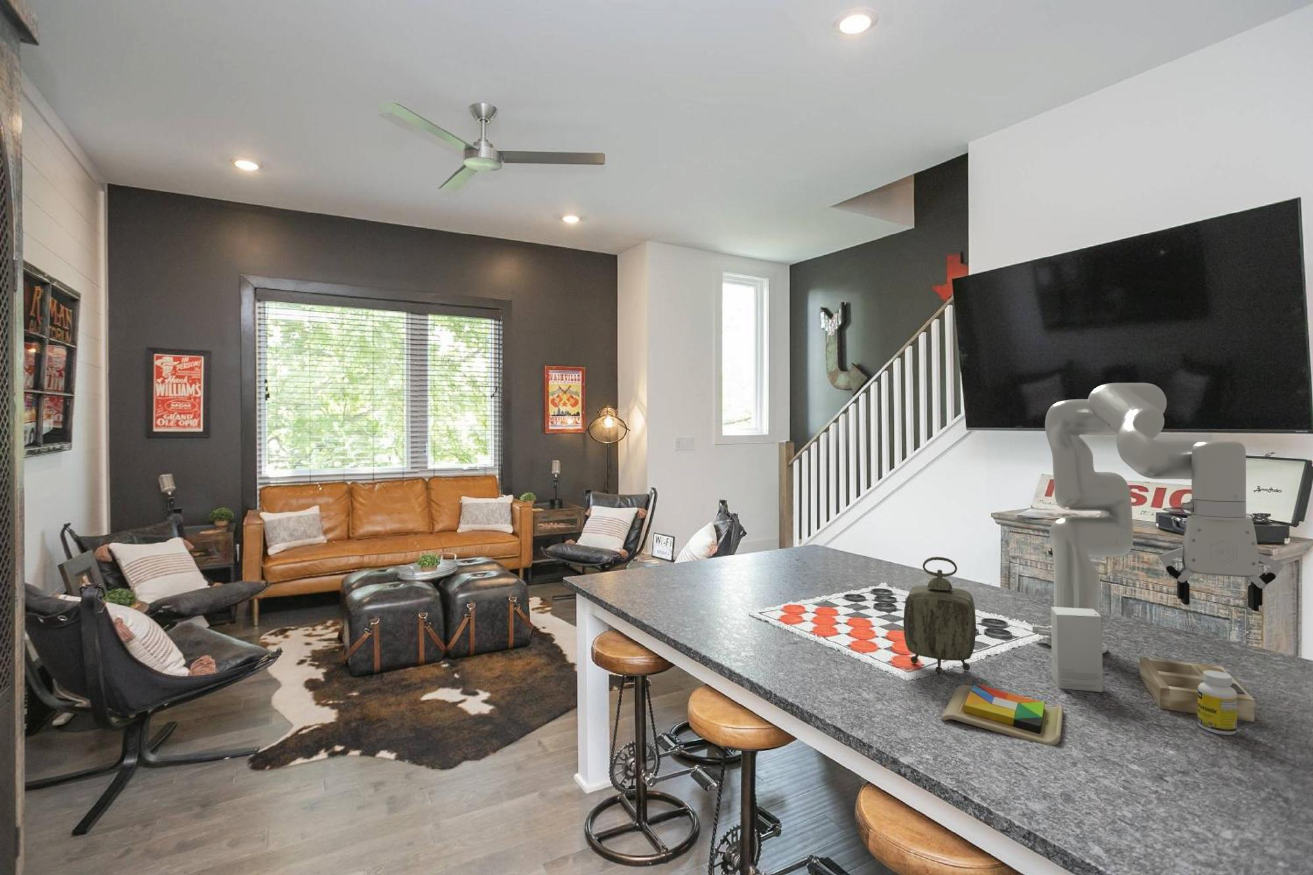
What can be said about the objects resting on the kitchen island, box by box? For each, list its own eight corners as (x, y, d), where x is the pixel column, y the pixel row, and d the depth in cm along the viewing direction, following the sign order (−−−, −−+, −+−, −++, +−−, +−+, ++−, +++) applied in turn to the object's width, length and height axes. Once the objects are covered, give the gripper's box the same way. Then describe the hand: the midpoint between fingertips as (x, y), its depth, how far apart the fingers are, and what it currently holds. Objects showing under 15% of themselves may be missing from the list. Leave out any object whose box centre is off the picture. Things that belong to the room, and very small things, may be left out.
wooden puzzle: (1060, 750, 114) (1060, 729, 114) (939, 724, 124) (939, 705, 124) (1063, 713, 129) (1063, 695, 129) (955, 692, 139) (955, 675, 139)
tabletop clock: (975, 669, 151) (976, 556, 151) (975, 683, 143) (976, 563, 143) (906, 660, 157) (906, 551, 157) (902, 673, 149) (902, 558, 149)
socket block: (1160, 708, 130) (1160, 685, 130) (1139, 675, 147) (1139, 655, 147) (1254, 721, 124) (1254, 698, 124) (1221, 686, 141) (1221, 665, 141)
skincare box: (1095, 682, 143) (1095, 608, 143) (1104, 694, 137) (1104, 616, 137) (1049, 677, 146) (1050, 605, 146) (1056, 689, 140) (1057, 613, 139)
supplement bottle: (1189, 722, 124) (1190, 668, 124) (1220, 722, 124) (1220, 668, 124) (1213, 735, 118) (1213, 679, 118) (1245, 736, 118) (1245, 679, 118)
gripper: (1163, 509, 122) (1163, 605, 122) (1289, 514, 115) (1290, 616, 115) (1154, 506, 129) (1155, 597, 129) (1273, 510, 121) (1274, 607, 121)
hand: (1218, 606), depth 122 cm, fingers open, 9 cm apart
